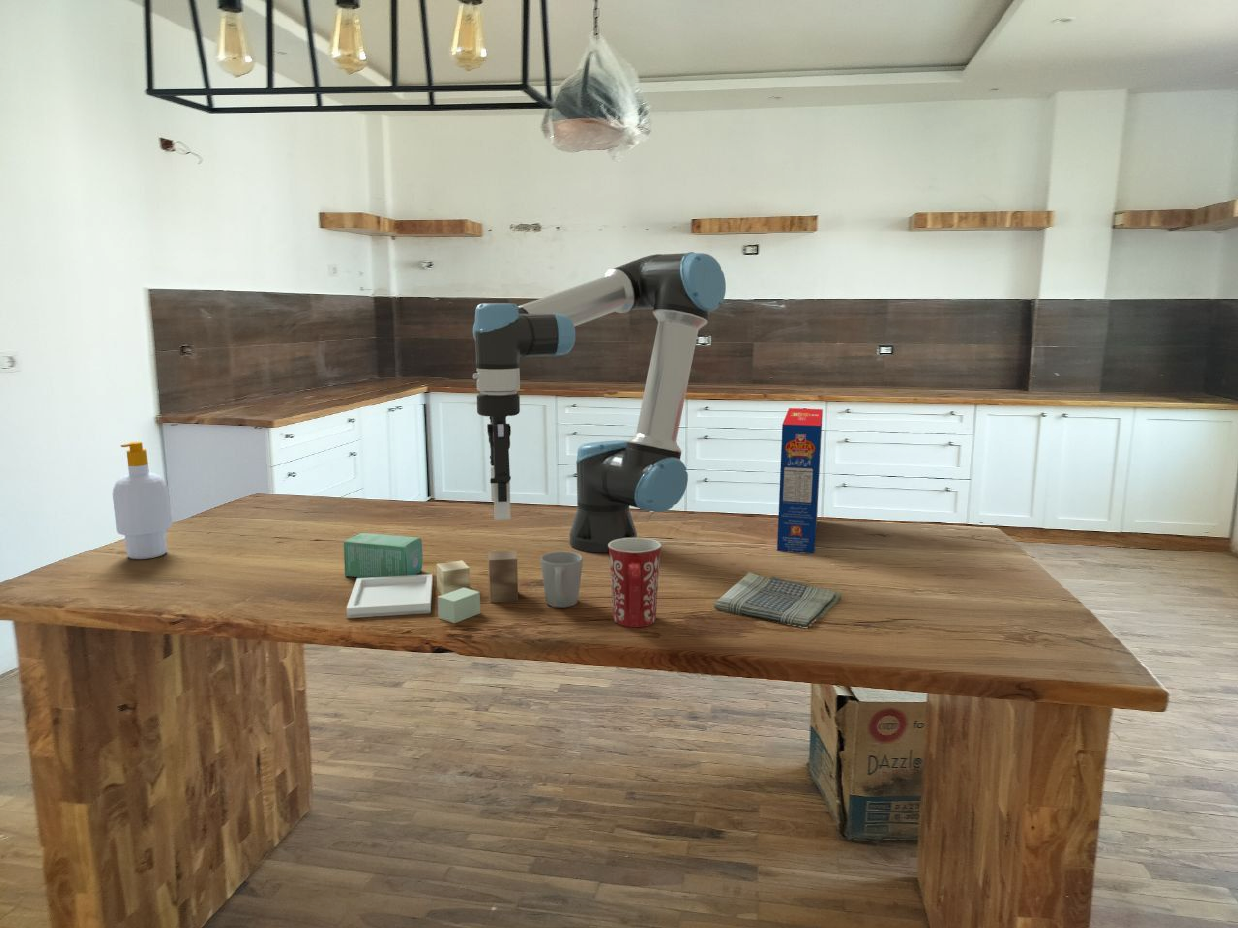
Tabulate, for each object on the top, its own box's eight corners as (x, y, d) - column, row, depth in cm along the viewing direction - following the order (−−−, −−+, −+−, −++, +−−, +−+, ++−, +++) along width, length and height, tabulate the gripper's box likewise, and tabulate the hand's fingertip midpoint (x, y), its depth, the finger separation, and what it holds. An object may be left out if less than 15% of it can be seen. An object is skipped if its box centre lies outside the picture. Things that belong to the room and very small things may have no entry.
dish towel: (808, 633, 142) (809, 615, 142) (711, 612, 152) (712, 595, 151) (843, 600, 158) (844, 583, 157) (753, 582, 167) (754, 567, 167)
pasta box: (784, 519, 213) (789, 408, 208) (817, 521, 211) (822, 409, 206) (776, 550, 187) (782, 424, 181) (814, 553, 185) (820, 426, 179)
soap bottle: (108, 558, 179) (95, 445, 174) (151, 545, 188) (139, 437, 183) (143, 564, 175) (131, 448, 170) (185, 551, 184) (174, 440, 180)
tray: (432, 583, 165) (432, 574, 164) (430, 612, 149) (430, 603, 149) (357, 587, 162) (356, 578, 162) (347, 618, 147) (346, 608, 146)
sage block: (464, 608, 152) (463, 587, 151) (480, 613, 149) (479, 592, 149) (438, 618, 147) (437, 596, 146) (454, 624, 145) (453, 601, 144)
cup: (584, 595, 158) (584, 551, 156) (579, 615, 148) (579, 568, 147) (544, 594, 158) (543, 550, 157) (536, 614, 149) (535, 567, 147)
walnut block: (516, 591, 160) (515, 550, 159) (518, 600, 155) (517, 558, 154) (489, 593, 159) (488, 552, 158) (490, 602, 154) (489, 560, 153)
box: (407, 582, 165) (405, 545, 164) (344, 577, 168) (342, 541, 166) (424, 571, 172) (422, 535, 171) (363, 566, 175) (361, 531, 173)
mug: (609, 609, 151) (609, 536, 149) (660, 610, 151) (661, 537, 148) (604, 637, 139) (604, 558, 136) (660, 638, 138) (661, 559, 136)
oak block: (463, 585, 164) (462, 560, 163) (470, 593, 159) (469, 567, 158) (437, 588, 162) (436, 563, 161) (444, 597, 157) (443, 571, 156)
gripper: (475, 385, 161) (477, 494, 165) (478, 401, 137) (481, 528, 141) (514, 384, 163) (516, 493, 167) (524, 400, 139) (526, 526, 143)
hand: (500, 509), depth 154 cm, fingers open, 13 cm apart
